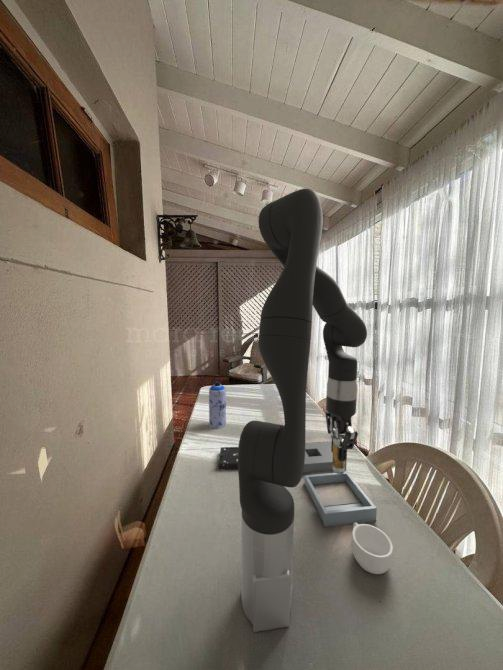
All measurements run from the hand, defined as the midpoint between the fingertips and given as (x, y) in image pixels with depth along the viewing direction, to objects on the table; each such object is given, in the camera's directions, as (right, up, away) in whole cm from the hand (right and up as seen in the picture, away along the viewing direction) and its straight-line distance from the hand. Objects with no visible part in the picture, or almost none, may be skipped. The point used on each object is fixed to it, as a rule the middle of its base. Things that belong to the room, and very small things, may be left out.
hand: (338, 455), depth 70 cm
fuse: (0, -4, 0) cm, 4 cm away
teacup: (+1, -15, -15) cm, 21 cm away
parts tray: (0, -13, +1) cm, 13 cm away
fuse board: (-3, -11, +19) cm, 22 cm away
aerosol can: (-39, -8, +48) cm, 62 cm away
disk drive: (-27, -12, +21) cm, 36 cm away
